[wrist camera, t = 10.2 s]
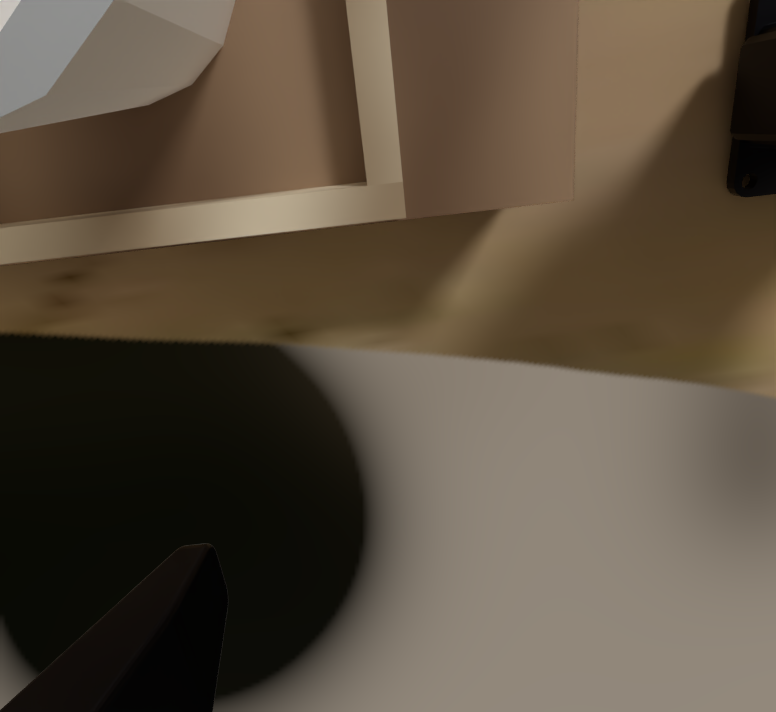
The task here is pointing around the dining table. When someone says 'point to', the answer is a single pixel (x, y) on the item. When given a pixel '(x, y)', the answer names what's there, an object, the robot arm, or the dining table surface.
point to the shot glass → (101, 55)
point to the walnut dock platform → (312, 130)
